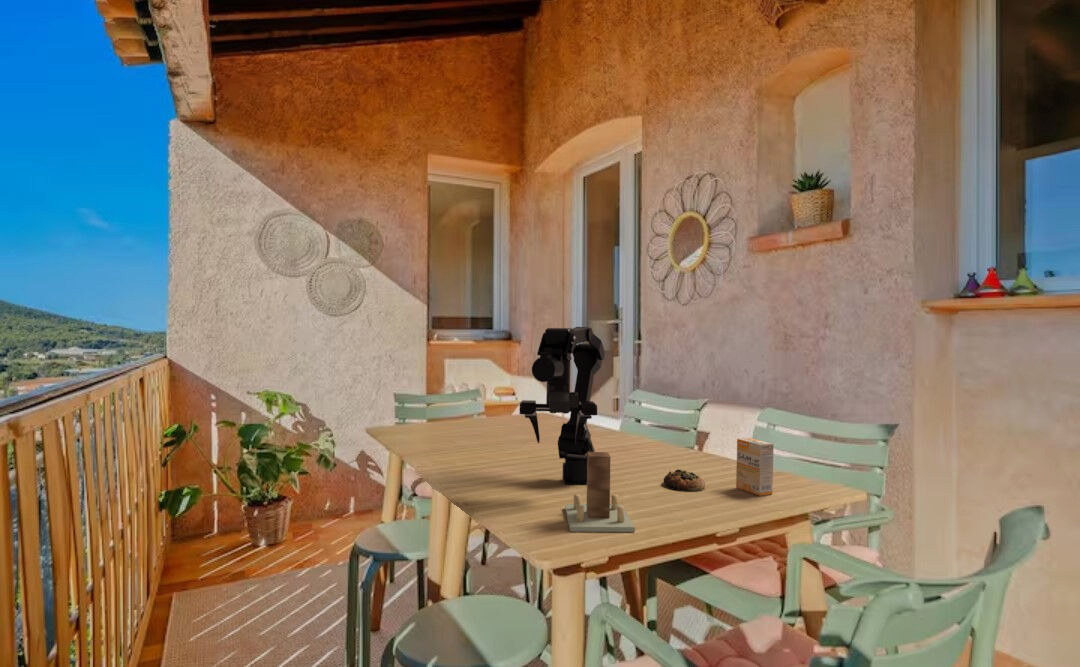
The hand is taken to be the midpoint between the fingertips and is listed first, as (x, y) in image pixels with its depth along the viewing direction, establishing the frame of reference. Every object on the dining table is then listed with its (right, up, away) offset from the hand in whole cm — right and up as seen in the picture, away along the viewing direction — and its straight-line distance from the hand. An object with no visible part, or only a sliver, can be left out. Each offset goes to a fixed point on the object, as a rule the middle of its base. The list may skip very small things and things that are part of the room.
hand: (557, 443), depth 137 cm
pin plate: (+8, -13, -17) cm, 23 cm away
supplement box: (+51, -14, +7) cm, 53 cm away
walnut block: (+8, -12, -17) cm, 22 cm away
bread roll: (+34, -14, +11) cm, 39 cm away
